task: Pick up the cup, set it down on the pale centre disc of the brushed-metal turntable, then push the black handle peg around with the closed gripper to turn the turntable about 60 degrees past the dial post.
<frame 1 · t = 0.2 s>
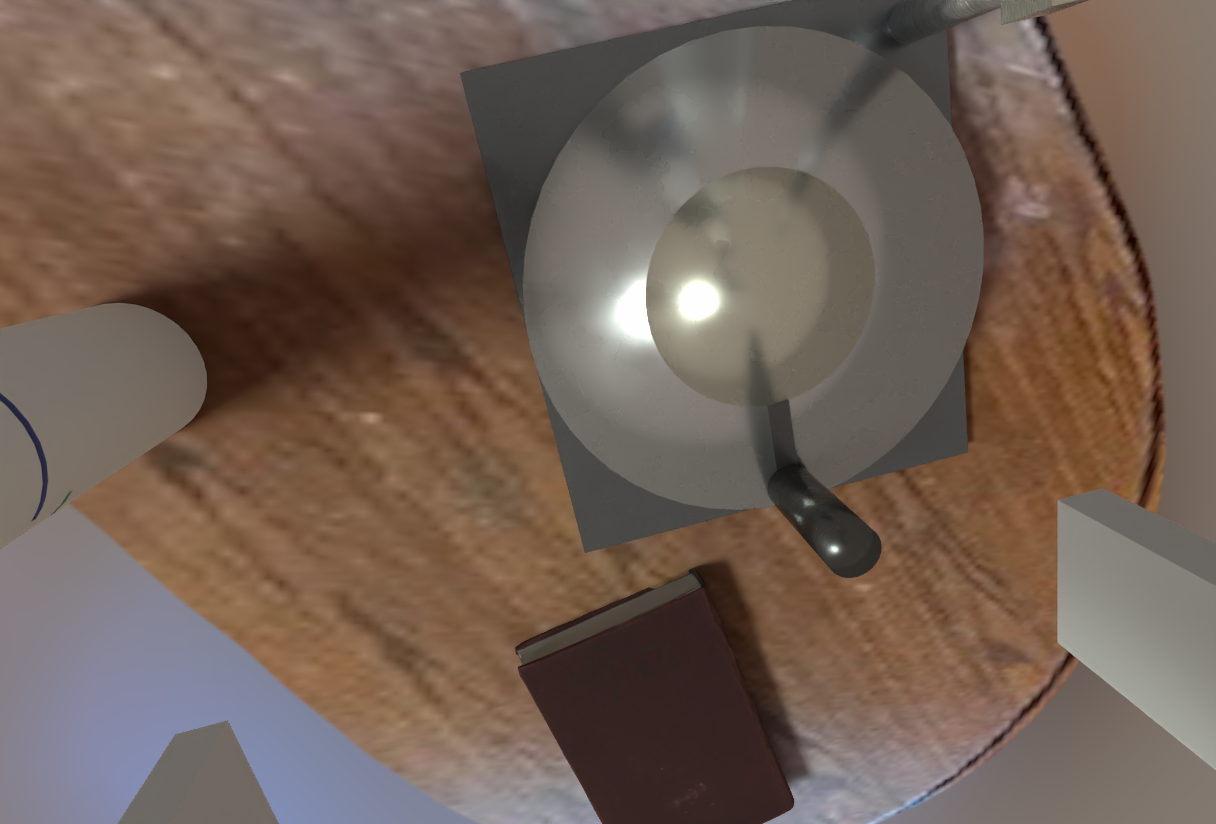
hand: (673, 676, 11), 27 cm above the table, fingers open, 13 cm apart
cylindrical container: (133, 372, 34), on the table
turntable: (782, 303, 31), point 6 cm above the table, hinge at 0.0°
base: (741, 285, 37), on the table
book: (656, 710, 46), on the table
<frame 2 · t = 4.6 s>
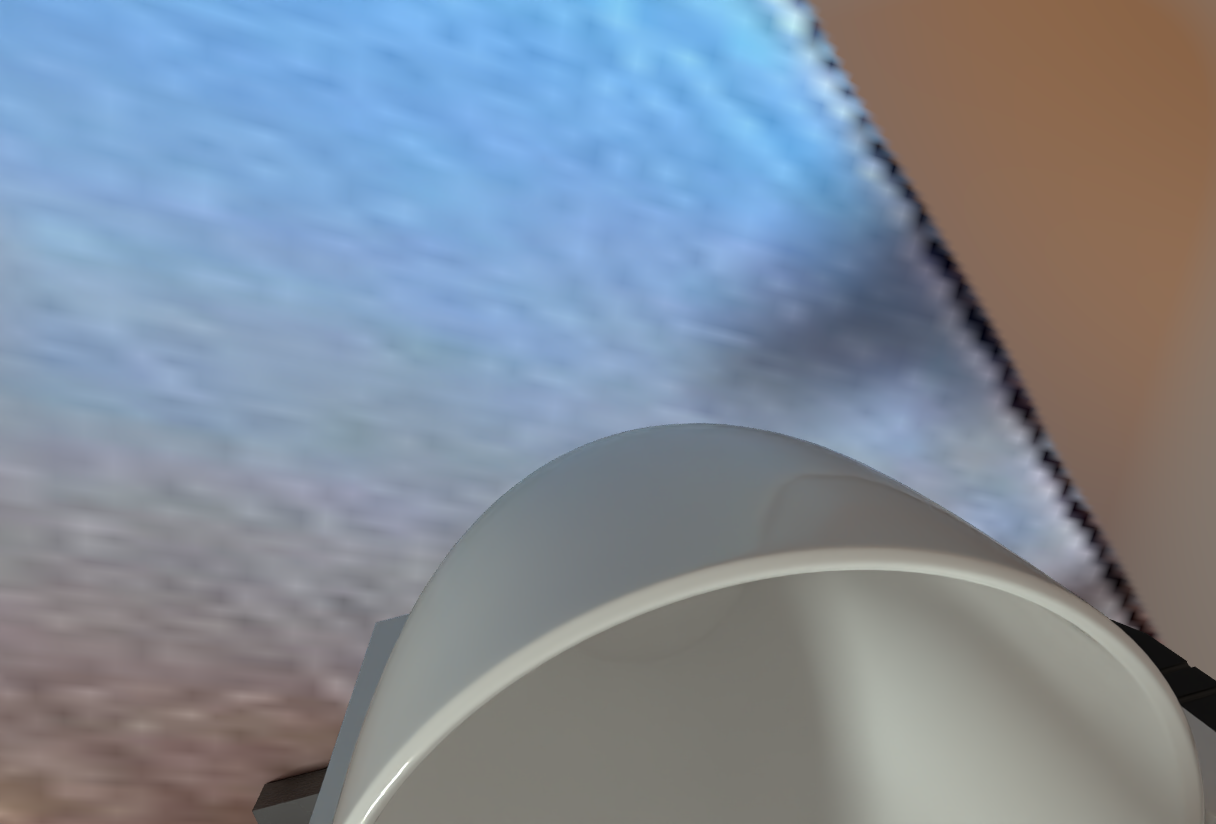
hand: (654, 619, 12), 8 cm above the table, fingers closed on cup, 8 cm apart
cup: (676, 596, 12), point 7 cm above the table, touching gripper
when the fingers open (4 cm above the table, at t = 8.3 s): cup stays where it is, resting on turntable.
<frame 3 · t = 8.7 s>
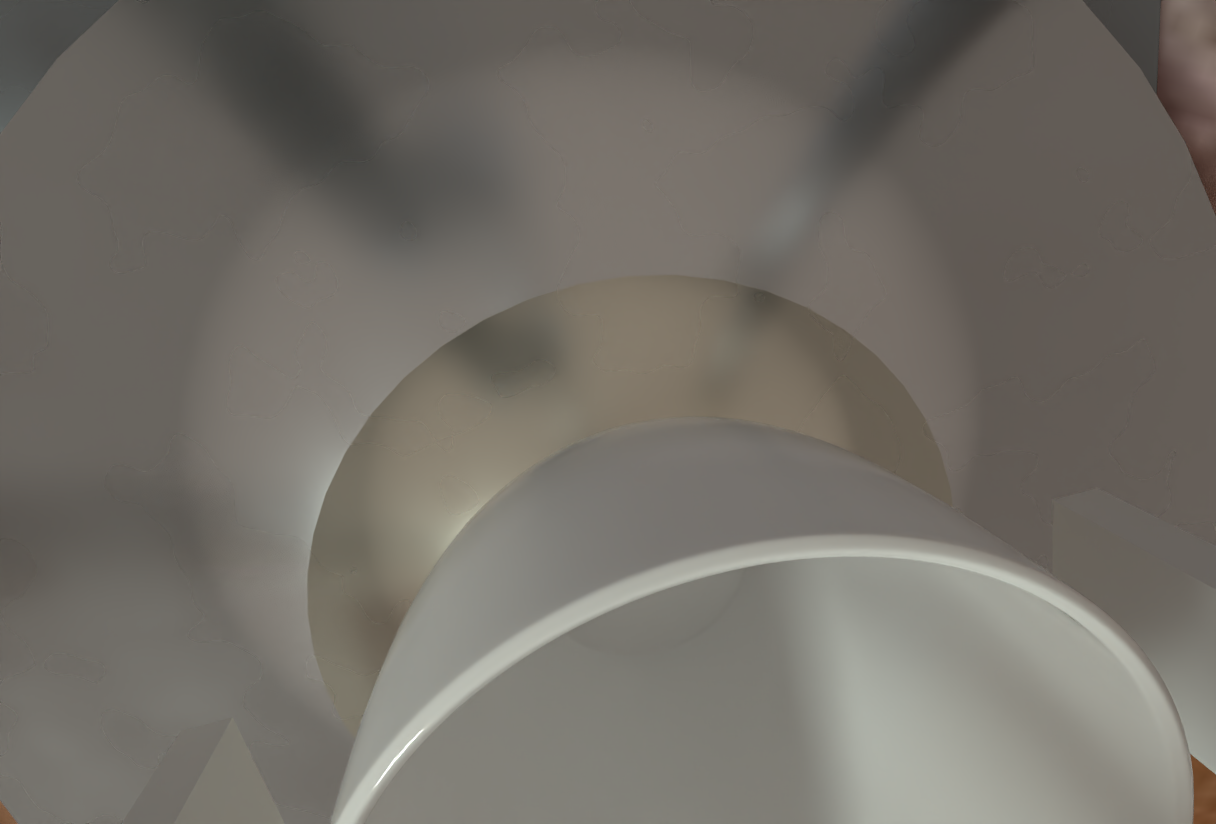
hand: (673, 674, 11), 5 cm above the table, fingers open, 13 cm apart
turntable: (686, 718, 10), point 6 cm above the table, hinge at 0.0°, touching cup
base: (623, 525, 15), on the table
cup: (675, 589, 13), point 3 cm above the table, touching turntable
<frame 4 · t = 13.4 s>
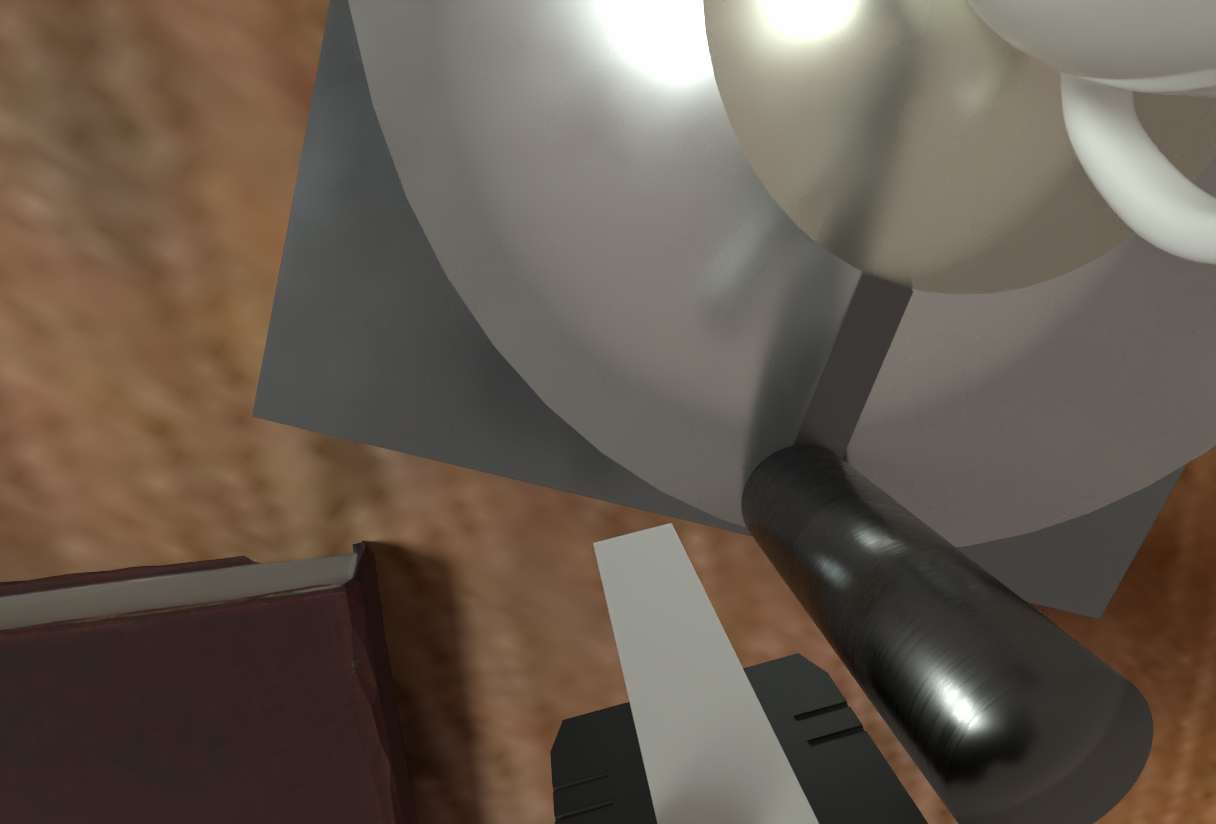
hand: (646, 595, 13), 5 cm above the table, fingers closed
base: (919, 13, 15), on the table
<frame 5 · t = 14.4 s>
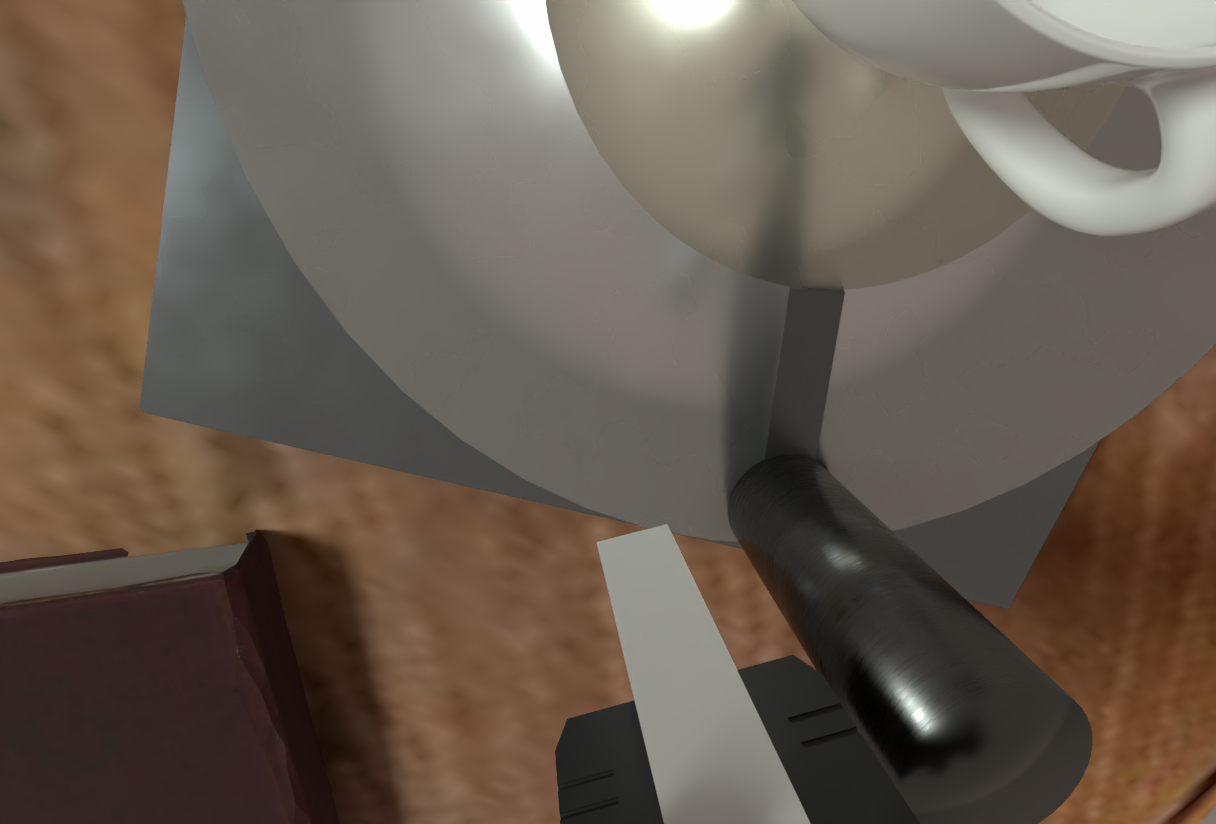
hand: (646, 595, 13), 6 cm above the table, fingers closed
base: (802, 3, 15), on the table
book: (144, 815, 21), on the table
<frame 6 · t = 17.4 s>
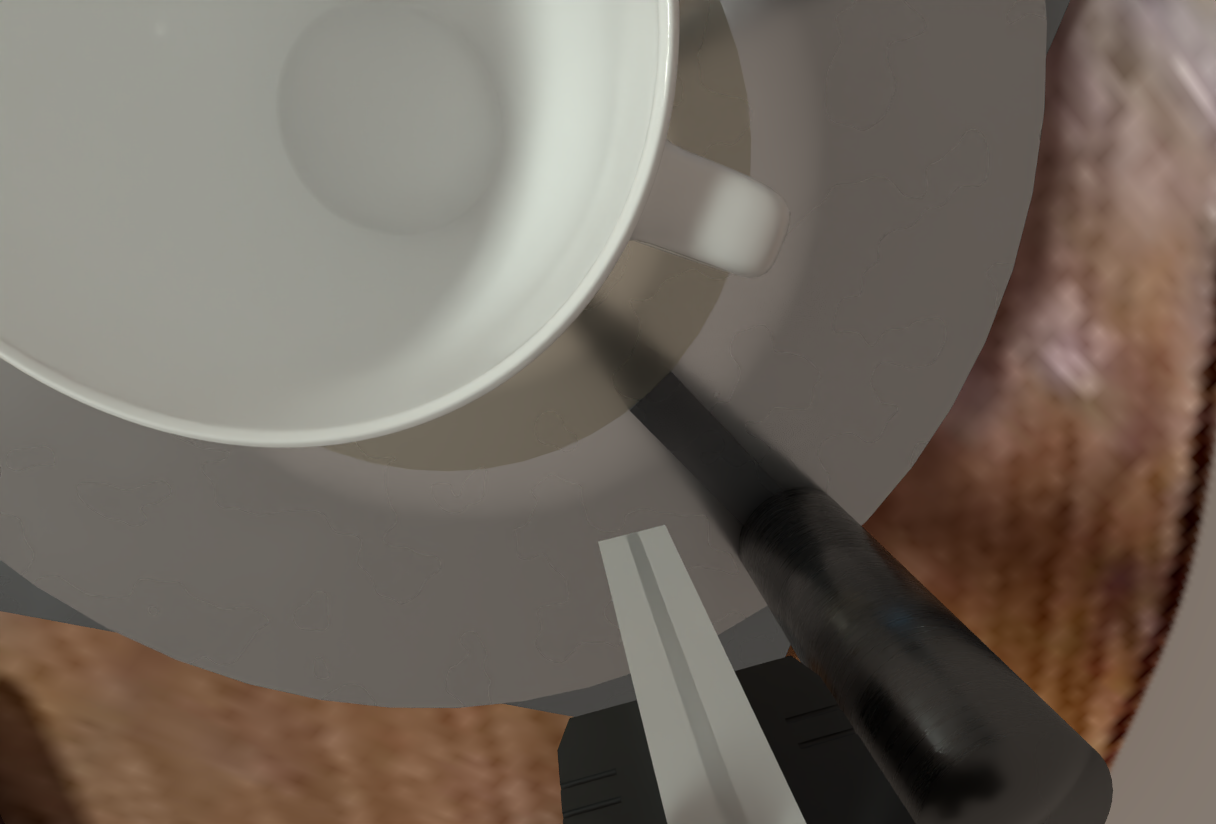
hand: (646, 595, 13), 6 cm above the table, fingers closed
turntable: (418, 166, 10), point 6 cm above the table, hinge at 60.7°, touching cup, gripper
base: (455, 178, 16), on the table
cup: (456, 146, 13), point 3 cm above the table, touching turntable
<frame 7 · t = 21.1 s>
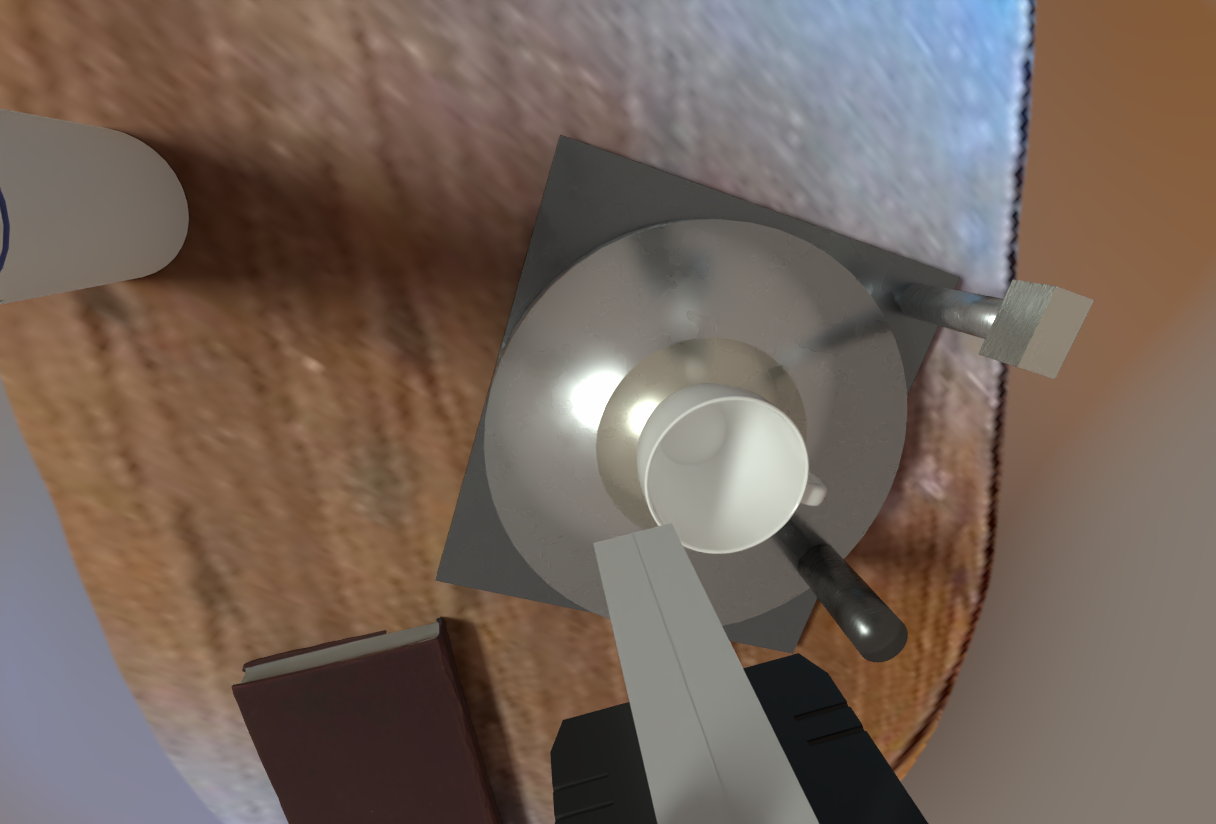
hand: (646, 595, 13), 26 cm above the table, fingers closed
cylindrical container: (112, 205, 33), on the table
turntable: (719, 463, 35), point 6 cm above the table, hinge at 60.8°, touching cup
base: (689, 426, 40), on the table
book: (389, 750, 45), on the table
cup: (709, 435, 37), point 3 cm above the table, touching turntable
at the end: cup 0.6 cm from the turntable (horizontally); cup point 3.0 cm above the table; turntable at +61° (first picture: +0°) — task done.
